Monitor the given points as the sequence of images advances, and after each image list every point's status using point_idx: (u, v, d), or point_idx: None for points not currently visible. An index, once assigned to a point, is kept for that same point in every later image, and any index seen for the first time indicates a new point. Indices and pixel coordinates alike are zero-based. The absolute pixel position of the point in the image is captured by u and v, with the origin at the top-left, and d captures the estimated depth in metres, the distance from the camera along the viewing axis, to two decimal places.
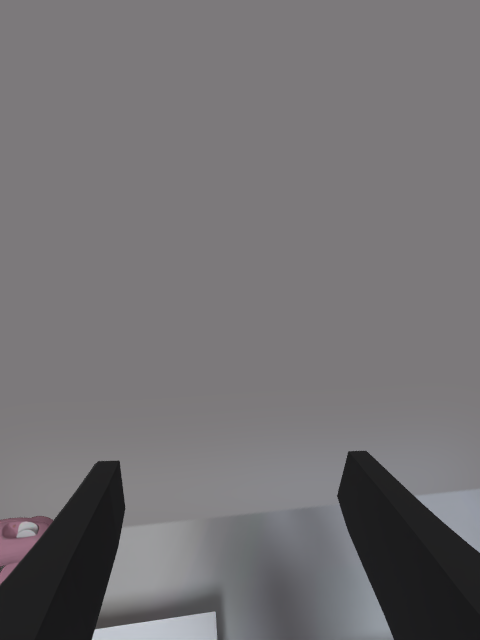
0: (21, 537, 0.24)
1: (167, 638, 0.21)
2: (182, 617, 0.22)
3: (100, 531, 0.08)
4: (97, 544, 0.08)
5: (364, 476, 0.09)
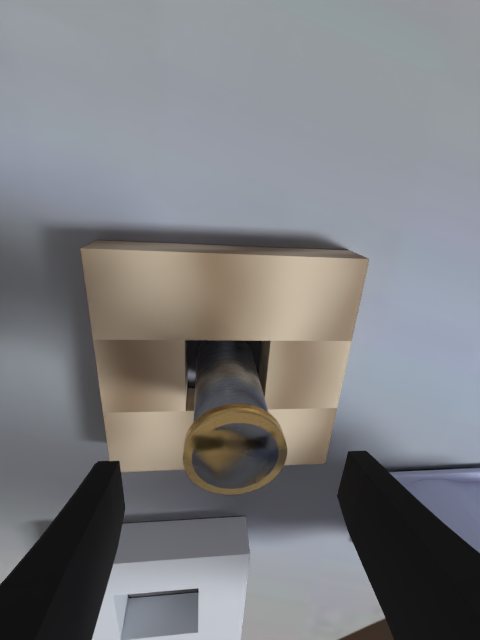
0: None
1: None
2: None
3: (100, 531, 0.08)
4: (98, 543, 0.08)
5: (364, 476, 0.09)
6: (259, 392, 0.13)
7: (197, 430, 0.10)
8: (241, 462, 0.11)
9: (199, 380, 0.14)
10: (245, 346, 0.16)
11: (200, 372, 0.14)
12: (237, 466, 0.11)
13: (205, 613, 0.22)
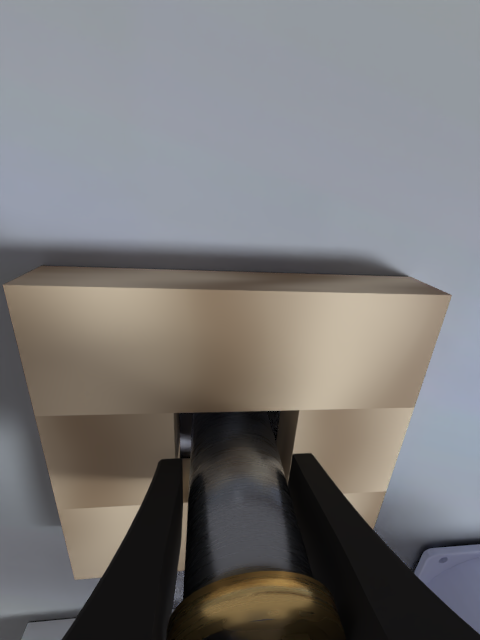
0: None
1: None
2: None
3: (175, 526, 0.08)
4: (174, 539, 0.08)
5: (302, 479, 0.09)
6: (289, 511, 0.08)
7: (189, 634, 0.06)
8: None
9: (195, 479, 0.09)
10: (260, 411, 0.11)
11: (196, 462, 0.10)
12: None
13: None
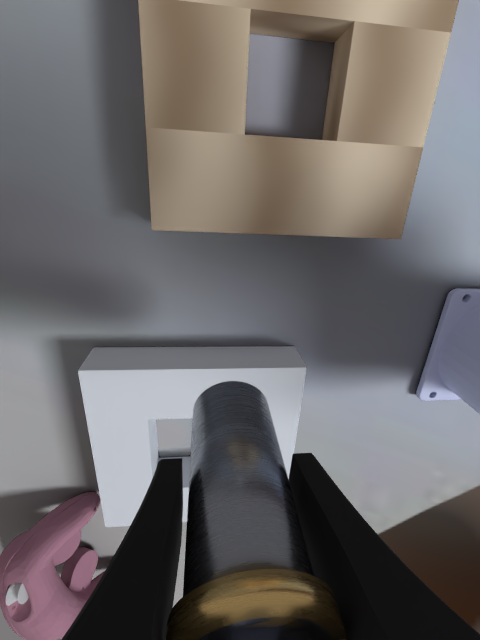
0: (27, 595, 0.19)
1: (106, 418, 0.18)
2: (85, 406, 0.17)
3: (175, 526, 0.08)
4: (173, 539, 0.08)
5: (303, 479, 0.09)
6: (290, 507, 0.08)
7: (189, 631, 0.06)
8: None
9: (195, 474, 0.09)
10: (262, 405, 0.11)
11: (197, 457, 0.09)
12: None
13: None
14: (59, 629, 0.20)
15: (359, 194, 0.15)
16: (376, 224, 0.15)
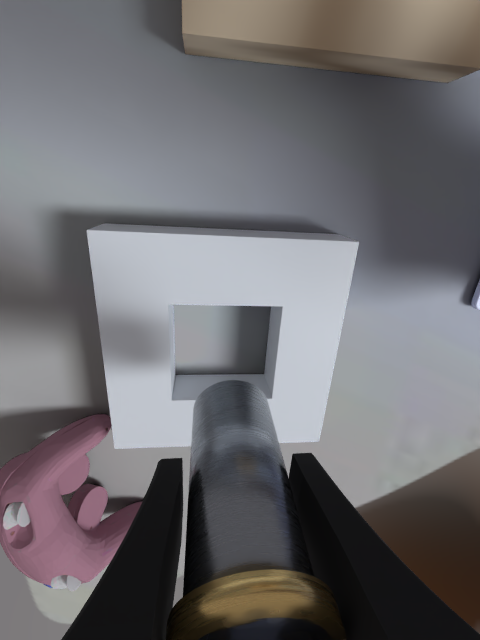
0: (29, 517, 0.16)
1: (119, 302, 0.15)
2: (95, 282, 0.14)
3: (175, 526, 0.08)
4: (174, 539, 0.08)
5: (303, 479, 0.09)
6: (290, 507, 0.08)
7: (189, 631, 0.06)
8: None
9: (195, 473, 0.09)
10: (262, 404, 0.11)
11: (197, 456, 0.09)
12: None
13: (285, 360, 0.17)
14: (66, 563, 0.17)
15: None
16: (455, 44, 0.12)
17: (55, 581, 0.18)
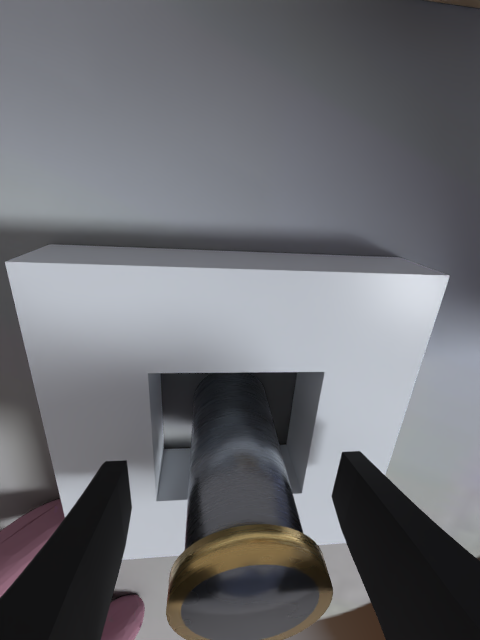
0: None
1: (69, 369, 0.09)
2: (27, 343, 0.09)
3: (109, 530, 0.08)
4: (106, 543, 0.08)
5: (357, 476, 0.09)
6: (283, 479, 0.09)
7: (189, 577, 0.06)
8: (259, 611, 0.07)
9: (196, 451, 0.10)
10: (259, 391, 0.12)
11: (197, 436, 0.10)
12: (253, 617, 0.07)
13: (324, 444, 0.11)
14: None
15: None
16: None
17: None
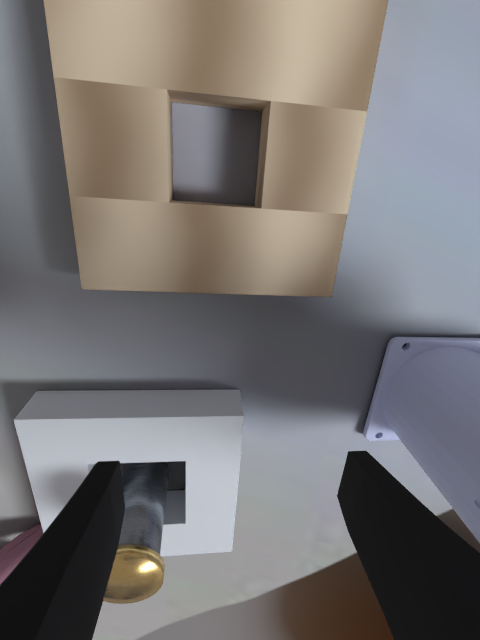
0: None
1: (46, 462, 0.18)
2: (24, 453, 0.17)
3: (100, 531, 0.08)
4: (97, 544, 0.08)
5: (364, 476, 0.09)
6: (154, 519, 0.17)
7: None
8: (130, 584, 0.15)
9: None
10: (160, 463, 0.20)
11: None
12: (127, 586, 0.15)
13: (193, 496, 0.20)
14: None
15: (287, 256, 0.15)
16: (306, 284, 0.16)
17: None
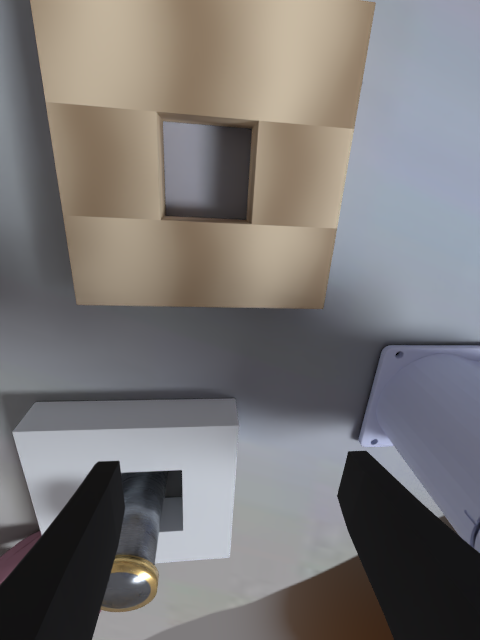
0: None
1: (45, 472, 0.18)
2: (22, 464, 0.17)
3: (100, 531, 0.08)
4: (97, 544, 0.08)
5: (364, 476, 0.09)
6: (149, 529, 0.17)
7: None
8: (124, 593, 0.16)
9: None
10: (157, 471, 0.21)
11: None
12: (122, 596, 0.16)
13: (190, 504, 0.20)
14: None
15: (278, 270, 0.15)
16: (297, 296, 0.16)
17: None
